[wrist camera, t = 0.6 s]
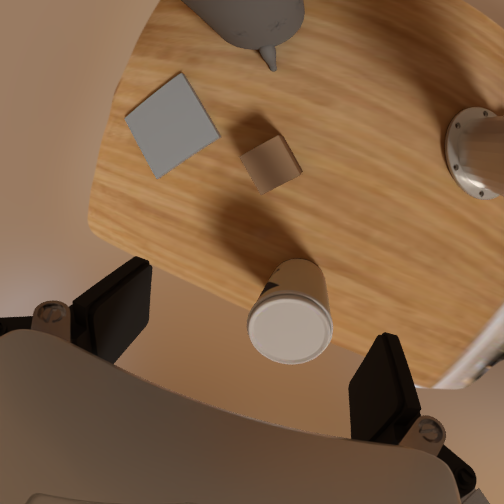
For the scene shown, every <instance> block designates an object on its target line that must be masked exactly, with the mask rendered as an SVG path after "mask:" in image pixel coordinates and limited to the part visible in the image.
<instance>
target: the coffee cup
mask: <svg viewBox="0 0 504 504" xmlns="http://www.w3.org/2000/svg"><path fill="white" fill-rule="evenodd" d="M247 331H248V334H249V337H250V340H251V342H252V344H253V345H254V347H255V348H256V349H257V350H258V351H259V352H260V353H261V354H263V355H264V356H265V357H267V358H269V359H271V360H273V361H276V362H279V363H283V364H299V363H304V362H307V361H310V360H312V359H314V358H316V357H317V356H318V355H320V354H321V353H322V352H323V351H324V350H325V348H326V347H327V346H328V344H329V343H330V340H331V338H332V334H333V322H332V318H331V314H330V306H329V299H328V293H327V286H326V281H325V277H324V275H323V273H322V271H321V270H320V268H319V267H318V266H317V265H315V264H314V263H312V262H310V261H308V260H304V259H291V260H288V261H285V262H283V263H282V264H280V265H279V266H278V267H277V268H276V269H275V271H274V272H273V274H272V276H271V277H270V279H269V281H268V283H267V284H266V286H265V288H264V289H263V291H262V293H261V295H260V297H259V298H258V300H257V302H256V303H255V304H254V306H253V307H252V309H251V311H250V313H249V315H248V319H247Z"/></svg>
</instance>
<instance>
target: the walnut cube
mask: <svg viewBox="0 0 504 504" xmlns="http://www.w3.org/2000/svg"><path fill="white" fill-rule="evenodd" d="M240 159H241V161H242V163H243V164H244V166H245V168H246V170H247V171H248V173H249V175H250V177H251V179H252V180H253V182H254V184H255V186H256V187H257V189H258V191H259V193H260V195H263V194H264V193H266V192H268V191H270V190H272V189H274V188H276V187H278V186H280V185H282V184H284V183H286V182H288V181H290V180H292V179H294V178H296V177H298V176H300V175H301V173H302V172H303V171H302V169H301V167H300V165H299V163H298V162H297V160H296V158H295V156H294V154H293V152H292V151H291V149H290V147H289V145H288V144H287V142H286V140H285V138H284V137H283V136H279V135H278V136H276V137H274V138H272V139H270V140H268V141H266V142H265V143H263V144H261V145H259V146H257V147H256V148H254V149H252V150H250V151H249V152H247V153H245V154H243V155H242V156H240Z"/></svg>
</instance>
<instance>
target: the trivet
mask: <svg viewBox="0 0 504 504" xmlns="http://www.w3.org/2000/svg"><path fill="white" fill-rule="evenodd" d="M124 119H125V121H126V123H127V124H128V126H129V128H130V130H131V132H132V134H133V136H134V138H135V140H136V142H137V144H138V146H139V147H140V149H141V151H142V153H143V155H144V157H145V159H146V161H147V162H148V164H149V166H150V168H151V170H152V172H153V173H154V175H155V177H156V179H159V178H161V177H162V176H164V175H165V174H166V173H168V172H169V171H171V170H172V169H173V168H175V167H176V166H178V165H179V164H181V163H182V162H184V161H185V160H187V159H188V158H190V157H191V156H193V155H194V154H196V153H197V152H199V151H200V150H202V149H203V148H205V147H206V146H208V145H209V144H211V143H213V142H214V141H216V140H217V139H219V138H221V135H220V134H219V132H218V130H217V129H216V127H215V125H214V123H213V122H212V120H211V118H210V117H209V115H208V113H207V112H206V110H205V108H204V106H203V105H202V103H201V101H200V100H199V98H198V96H197V95H196V93H195V91H194V90H193V88H192V86H191V85H190V83H189V81H188V80H187V78H186V76H185V75H184V74H183V73H180V74H179V75H177V76H176V77H175V78H173V79H172V80H171V81H169V82H168V83H167V84H165V85H164V86H163V87H162V88H160V89H159V90H158V91H156V92H155V93H154V94H153V95H151V96H150V97H149V98H148V99H147V100H145V101H144V102H143V103H142V104H141V105H139V106H138V107H137V108H136V109H135V110H134V111H132V112H131V113H130V114H129V115H128V116H127V117H126V118H124Z"/></svg>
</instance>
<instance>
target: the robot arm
mask: <svg viewBox="0 0 504 504" xmlns="http://www.w3.org/2000/svg"><path fill="white" fill-rule="evenodd" d="M483 114H484V115H483ZM455 124H456V127H455ZM445 155H446V161H447V164H448V167H449V171H450V173H451V175H452V177H453V179H454V180H455V182H456V183H457V184H458V186H459V187H460V188H461V189H462V190H463V191H464V192H466V193H467V194H469V195H470V196H473V197H475V198H478V199H481V200H489V199H493V198H496V197H498V196H499V195H502V196H504V116H497V115H496V114H495V113H493V112H492V111H490V110H488V109H485V108H482V107H471V108H467V109H464V110H462V111H460V112H459V113H458V114H456V116H455V117H454V118H453V119H452V121H451V123H450V125H449V127H448V130H447V133H446V139H445ZM453 166H455V168H453ZM479 192H480V193H479ZM151 278H152V266H151V265H149V261H148V260H145V259H143V258H140V257H137V256H135V257H133V258H132V259H131V260H129V261H128V262H126V263H125V264H123V265H122V266H120V267H119V268H118V269H116V270H115V271H113V272H112V273H111V274H109V275H108V276H106V277H105V278H104V279H102V280H101V281H99V282H98V283H97V284H95V285H94V286H92V287H91V288H90V289H88V290H87V291H86V292H84V293H83V294H82V295H80V296H79V297H78V298H76V299H75V300H73V304H72V305H71V306H69V307H68V306H67V305H66V304H64V303H63V302H60V301H46V302H43V303H41V304H40V305H38V306H37V307H36V308H35V310H34V313H33V316H27V317H7V318H0V504H490V503H489V502H488V500H487V499H486V497H485V496H484V494H483V493H482V492H481V490H480V489H479V488H478V489H477V490H475V485H476V475H475V473H474V471H473V469H472V468H471V467H470V466H469V465H467V464H466V463H465V462H464V461H463V460H461V459H460V458H459V457H458V456H457V455H456V454H454V453H453V452H452V451H451V450H449V449H448V448H447V447H446V446H445V445H444V442H445V438H446V431H445V429H444V427H443V425H442V424H441V423H440V422H439V421H438V420H437V419H435V418H434V417H431V416H421V414H420V410H421V406H420V402H419V399H418V395H417V392H416V389H415V386H414V382H413V379H412V376H411V373H410V370H409V367H408V364H407V361H406V358H405V355H404V352H403V349H402V346H401V344H400V341H399V338H398V336H397V335H394V334H390V333H386V332H384V333H383V334H382V335H378V336H377V338H376V339H375V341H374V343H373V345H372V346H371V348H370V350H369V352H368V353H367V355H366V357H365V358H364V360H363V362H362V363H361V365H360V367H359V368H358V370H357V371H356V373H355V375H354V376H353V378H352V379H351V381H350V384H349V388H348V390H349V405H350V420H351V421H350V422H351V439H348V438H341V437H335V436H330V435H324V434H319V433H313V432H308V431H303V430H299V429H294V428H290V427H286V426H282V425H277V424H273V423H270V422H266V421H262V420H258V419H254V418H251V417H248V416H244V415H241V414H237V413H234V412H231V411H227V410H224V409H221V408H218V407H215V406H212V405H210V404H207V403H204V402H201V401H198V400H195V399H193V398H190V397H187V396H185V395H182V394H179V393H177V392H174V391H171V390H169V389H167V388H164V387H162V386H160V385H157V384H155V383H153V382H150V381H148V380H146V379H143V378H141V377H139V376H137V375H135V374H133V373H130V372H128V371H126V370H124V369H122V368H120V367H117V366H116V365H114V363H115V362H116V360H117V359H118V358H119V357H120V356H121V355H122V353H123V352H124V351H125V350H126V349H127V347H128V346H129V345H130V344H131V343H132V342H133V341H134V340H135V338H136V337H137V336H138V335H139V334H140V333H141V331H142V330H143V329H144V328H145V327H146V325H147V323H148V321H149V306H150V291H151Z"/></svg>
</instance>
